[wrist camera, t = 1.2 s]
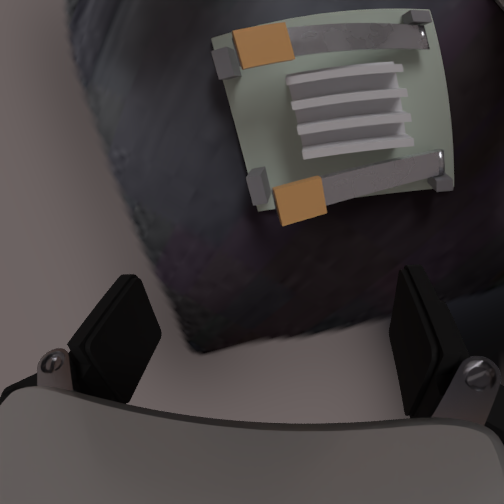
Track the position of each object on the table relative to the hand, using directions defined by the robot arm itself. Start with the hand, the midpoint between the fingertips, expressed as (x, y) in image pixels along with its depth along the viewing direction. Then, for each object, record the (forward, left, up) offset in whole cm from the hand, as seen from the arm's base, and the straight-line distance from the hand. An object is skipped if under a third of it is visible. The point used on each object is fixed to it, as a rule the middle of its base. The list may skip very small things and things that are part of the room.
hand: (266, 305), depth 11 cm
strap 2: (-6, +3, -20) cm, 21 cm away
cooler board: (-6, -4, -25) cm, 26 cm away
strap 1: (-6, -10, -20) cm, 23 cm away
